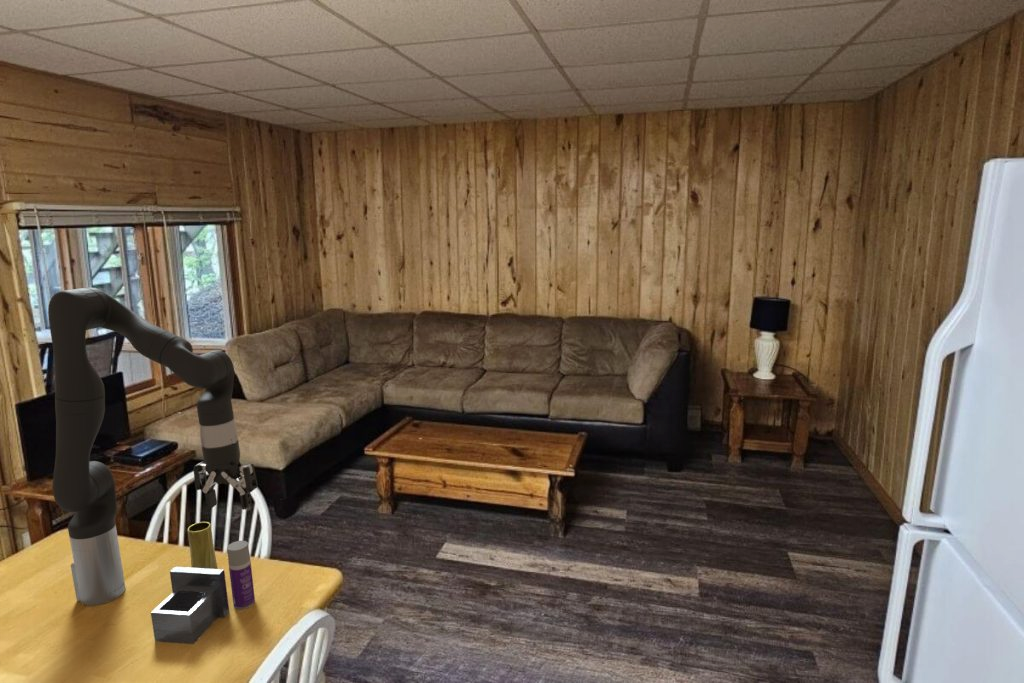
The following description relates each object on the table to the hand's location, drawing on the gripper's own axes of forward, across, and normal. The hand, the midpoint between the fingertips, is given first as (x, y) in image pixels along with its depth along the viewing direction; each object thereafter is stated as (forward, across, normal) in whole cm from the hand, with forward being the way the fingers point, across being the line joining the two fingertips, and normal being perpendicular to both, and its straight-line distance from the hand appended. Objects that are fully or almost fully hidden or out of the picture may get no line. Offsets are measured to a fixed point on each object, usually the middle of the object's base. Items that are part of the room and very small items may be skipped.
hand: (229, 507), depth 141 cm
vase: (+24, -16, +8) cm, 30 cm away
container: (+25, 0, 0) cm, 25 cm away
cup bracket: (+24, -7, -10) cm, 27 cm away
